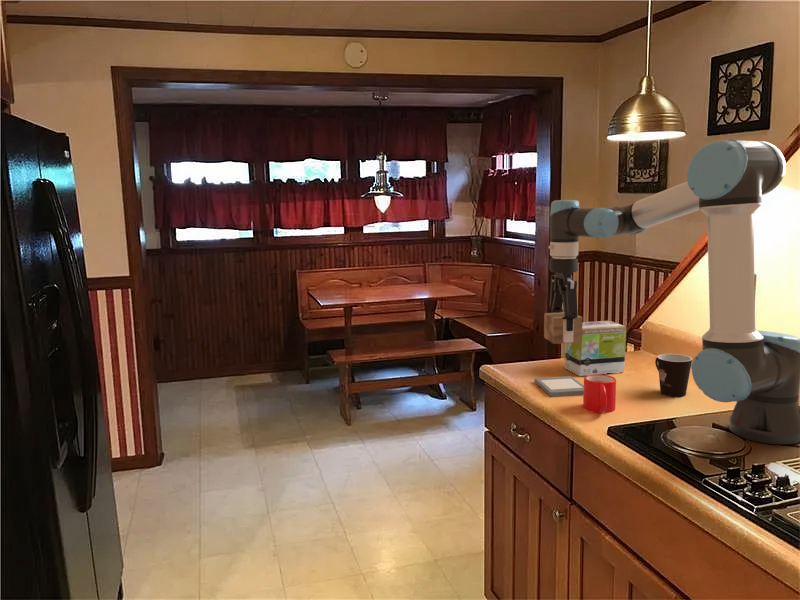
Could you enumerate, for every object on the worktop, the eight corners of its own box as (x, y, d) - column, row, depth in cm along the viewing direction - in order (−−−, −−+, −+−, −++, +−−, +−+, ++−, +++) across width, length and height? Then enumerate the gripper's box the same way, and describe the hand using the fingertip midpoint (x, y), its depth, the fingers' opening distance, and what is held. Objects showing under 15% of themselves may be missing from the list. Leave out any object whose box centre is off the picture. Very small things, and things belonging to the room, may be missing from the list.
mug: (588, 418, 162) (589, 387, 161) (580, 403, 174) (581, 373, 172) (621, 419, 161) (622, 387, 160) (611, 403, 173) (612, 374, 171)
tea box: (580, 377, 196) (581, 328, 194) (564, 369, 206) (565, 322, 204) (625, 373, 200) (627, 325, 197) (607, 364, 210) (609, 319, 207)
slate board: (589, 394, 180) (589, 390, 180) (550, 396, 179) (550, 392, 179) (570, 380, 194) (571, 375, 194) (534, 382, 193) (534, 378, 193)
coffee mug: (693, 399, 174) (695, 362, 173) (659, 397, 176) (660, 361, 174) (684, 386, 186) (685, 351, 184) (651, 385, 187) (653, 350, 186)
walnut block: (581, 342, 181) (582, 317, 180) (553, 343, 180) (553, 318, 179) (571, 336, 189) (571, 311, 187) (544, 337, 188) (544, 313, 187)
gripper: (538, 254, 190) (537, 331, 194) (564, 261, 170) (562, 348, 174) (563, 253, 191) (562, 330, 195) (592, 260, 171) (590, 346, 174)
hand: (562, 338), depth 184 cm, fingers closed on walnut block, 8 cm apart
